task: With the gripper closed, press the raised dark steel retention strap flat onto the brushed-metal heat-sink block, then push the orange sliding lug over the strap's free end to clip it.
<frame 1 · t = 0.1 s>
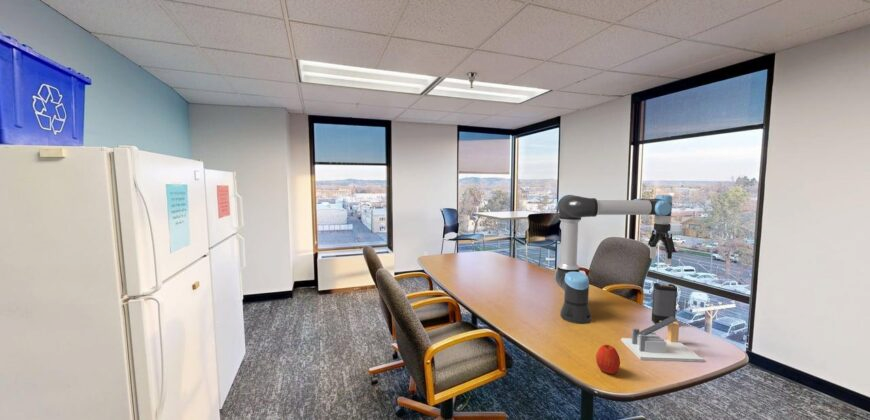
hand: (660, 261, 180), 28 cm above the table, fingers open, 13 cm apart
electronic device: (662, 323, 166), on the table
apple: (607, 371, 124), on the table
board: (659, 350, 139), on the table
strap: (656, 327, 138), point 10 cm above the table, hinge at 30.0°
lug: (668, 331, 145), point 5 cm above the table, slide at 0.0 cm
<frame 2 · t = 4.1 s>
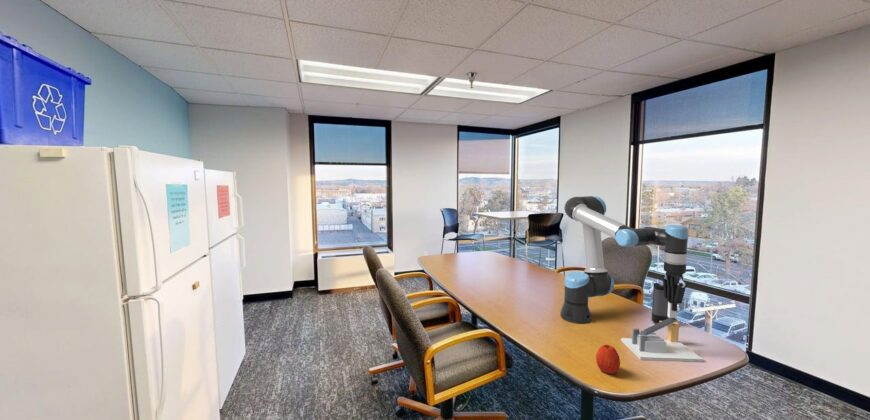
hand: (671, 317, 137), 15 cm above the table, fingers closed
strap: (656, 327, 138), point 10 cm above the table, hinge at 29.3°, touching gripper
everything else where it was.
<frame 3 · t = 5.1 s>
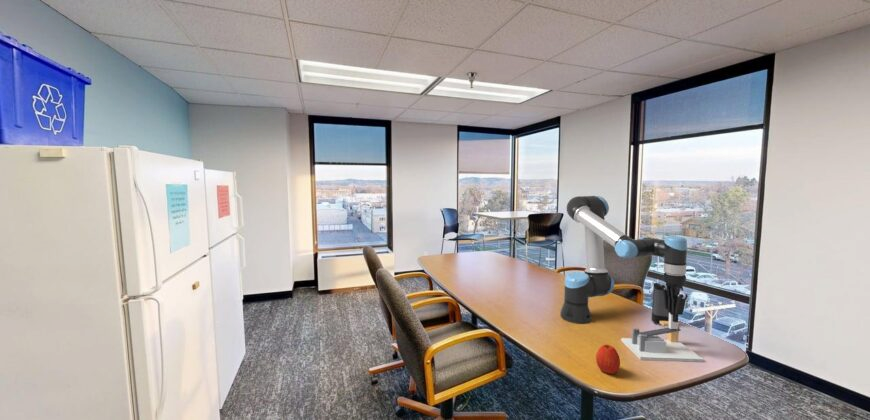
hand: (673, 328, 137), 10 cm above the table, fingers closed
strap: (658, 331, 138), point 8 cm above the table, hinge at 12.8°, touching gripper
everything else where it was.
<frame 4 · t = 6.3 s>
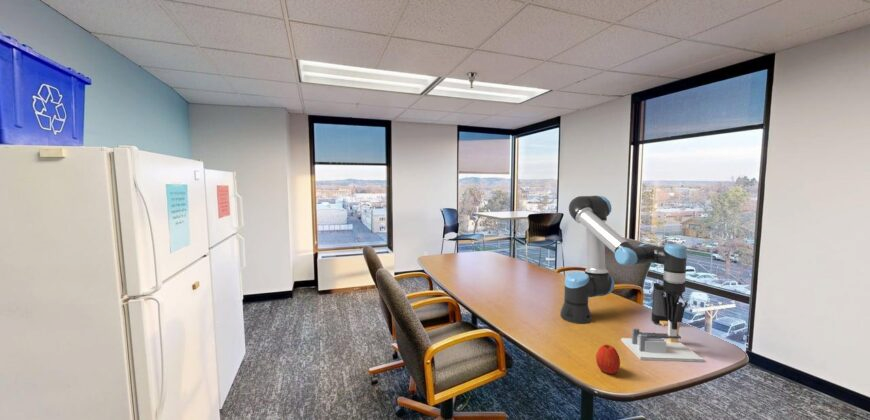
hand: (672, 335, 138), 7 cm above the table, fingers closed
strap: (658, 335, 139), point 7 cm above the table, hinge at 0.4°, touching gripper
everything else where it was.
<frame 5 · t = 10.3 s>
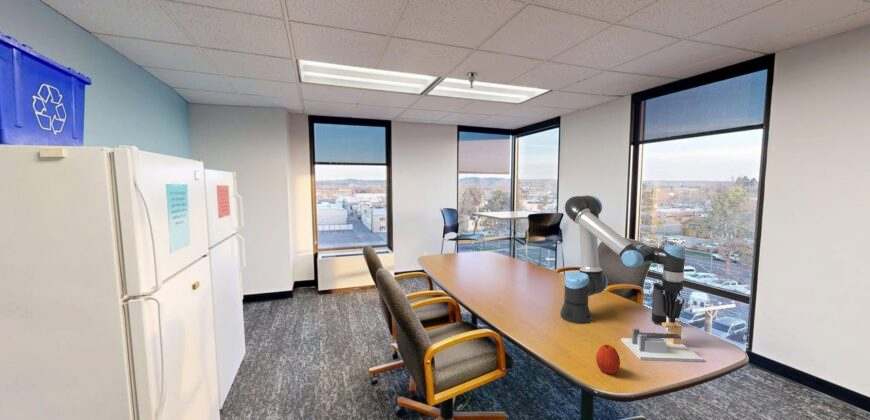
hand: (669, 330, 147), 5 cm above the table, fingers closed
strap: (658, 335, 139), point 7 cm above the table, hinge at 0.3°
lug: (671, 333, 143), point 5 cm above the table, slide at 1.6 cm, touching gripper
everything else where it was.
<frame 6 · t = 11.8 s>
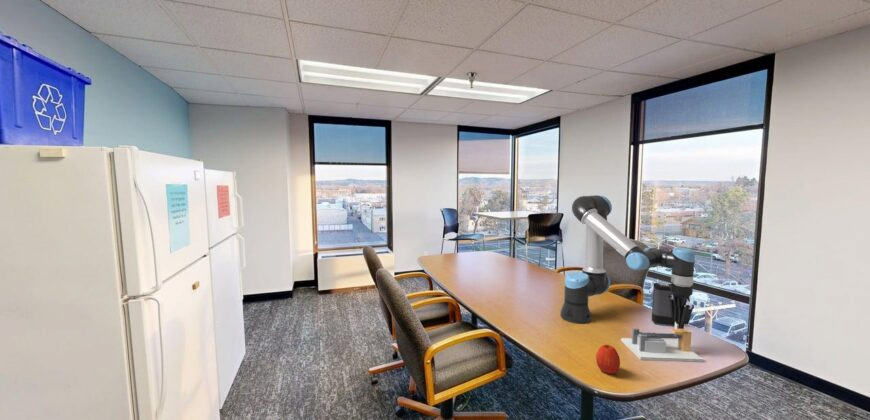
hand: (678, 337, 141), 5 cm above the table, fingers closed
lug: (680, 339, 137), point 5 cm above the table, slide at 7.6 cm, touching gripper
everything else where it was.
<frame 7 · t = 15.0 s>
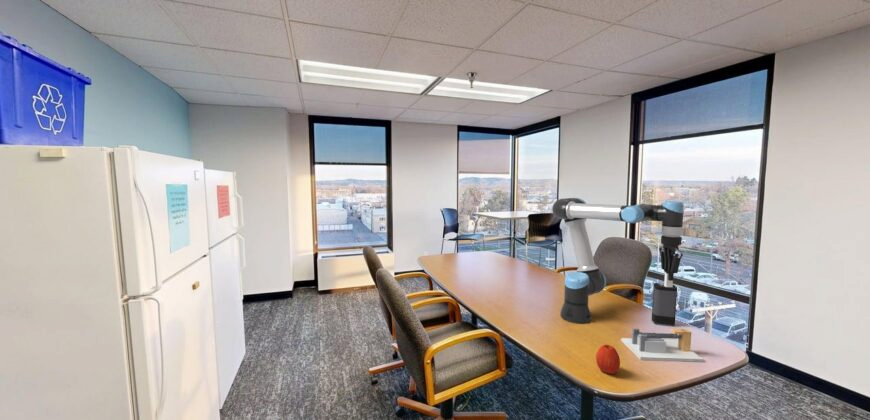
hand: (668, 286, 148), 24 cm above the table, fingers closed
lug: (680, 339, 137), point 5 cm above the table, slide at 7.6 cm
everything else where it was.
at the end: strap at +0° (first picture: +30°); lug slide at 7.6 cm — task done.
